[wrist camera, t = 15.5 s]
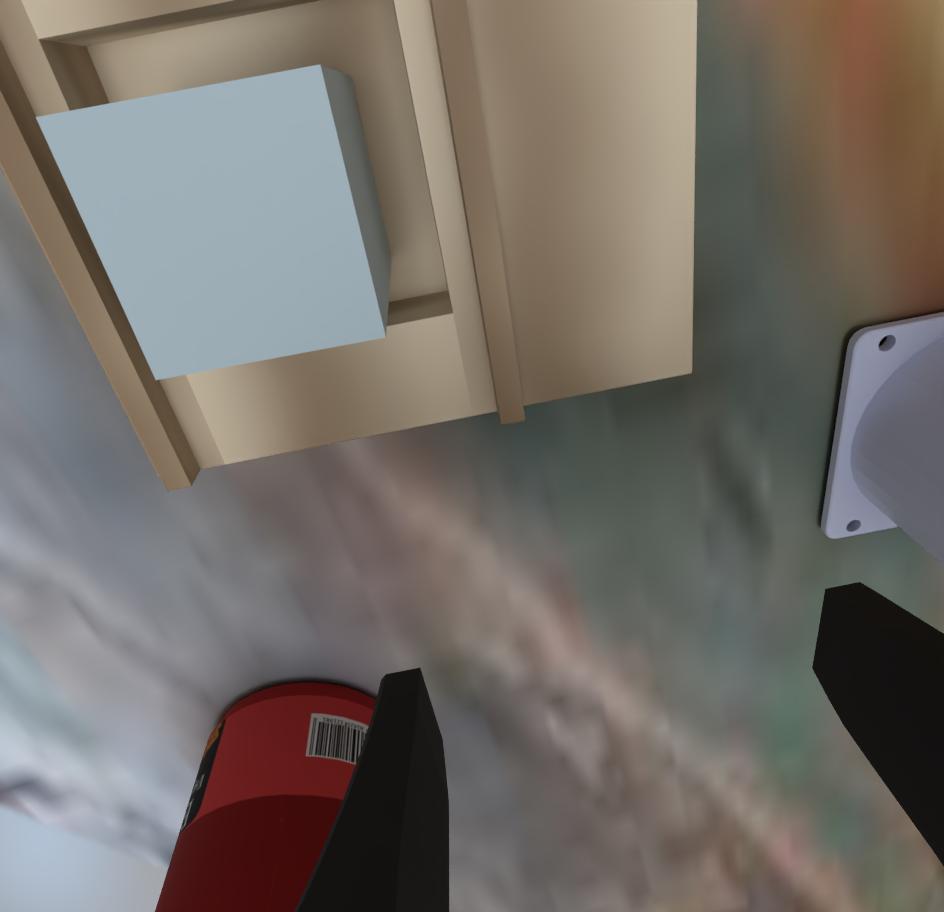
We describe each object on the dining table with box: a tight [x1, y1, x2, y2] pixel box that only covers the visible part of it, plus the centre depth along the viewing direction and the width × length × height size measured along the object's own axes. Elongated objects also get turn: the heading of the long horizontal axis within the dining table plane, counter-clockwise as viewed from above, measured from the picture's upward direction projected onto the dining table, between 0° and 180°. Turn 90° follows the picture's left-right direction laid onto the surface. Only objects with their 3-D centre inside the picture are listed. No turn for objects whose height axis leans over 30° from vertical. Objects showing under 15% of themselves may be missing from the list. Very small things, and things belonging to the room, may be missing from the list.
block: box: [36, 64, 392, 380], centre depth 12 cm, size 4×4×6 cm
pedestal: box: [0, 0, 697, 491], centre depth 14 cm, size 14×12×4 cm
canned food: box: [155, 682, 376, 912], centre depth 22 cm, size 8×8×11 cm
